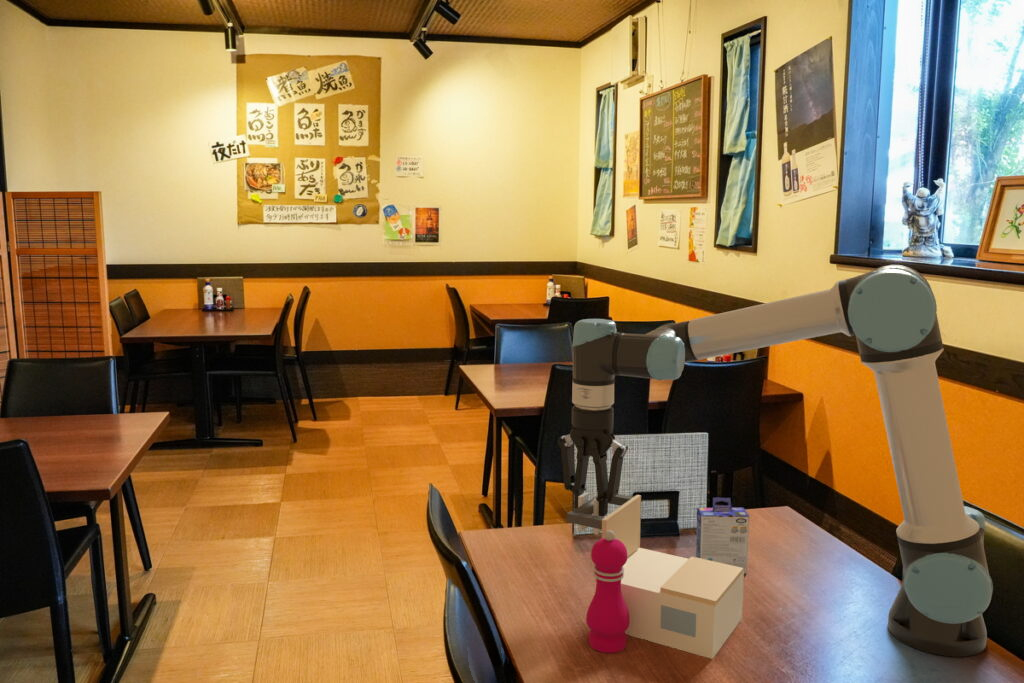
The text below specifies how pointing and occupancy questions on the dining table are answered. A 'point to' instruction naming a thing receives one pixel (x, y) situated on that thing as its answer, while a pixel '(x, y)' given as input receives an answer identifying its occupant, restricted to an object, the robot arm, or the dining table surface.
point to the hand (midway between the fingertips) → (590, 529)
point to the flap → (613, 519)
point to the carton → (682, 600)
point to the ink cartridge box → (723, 534)
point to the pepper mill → (608, 596)
